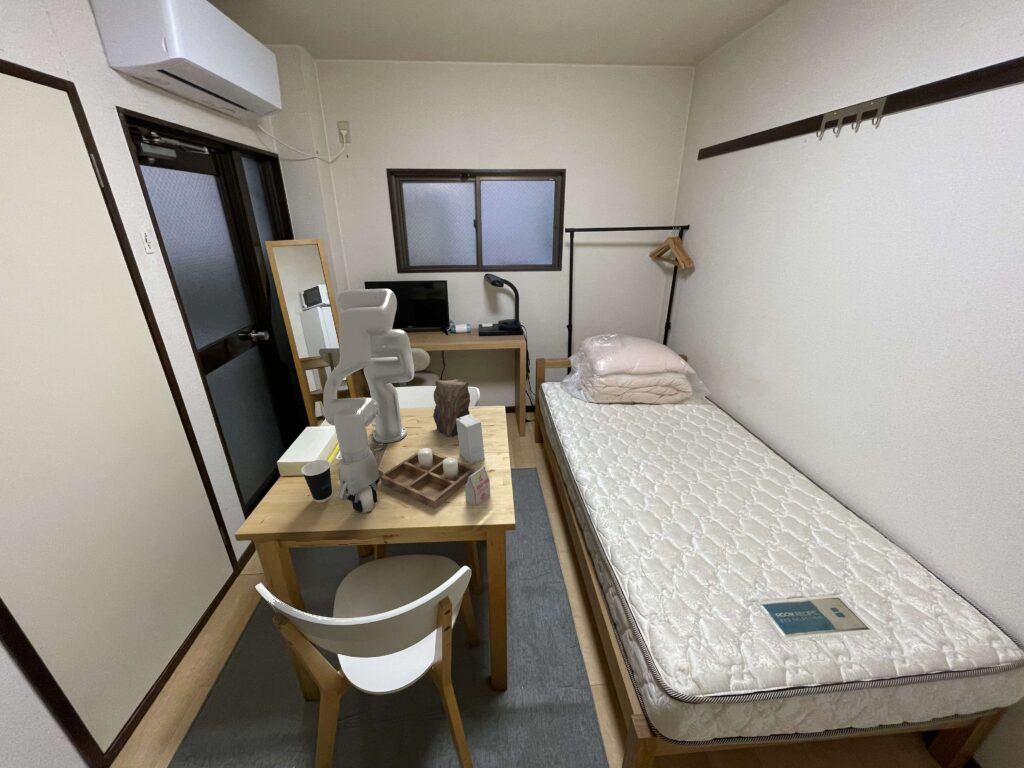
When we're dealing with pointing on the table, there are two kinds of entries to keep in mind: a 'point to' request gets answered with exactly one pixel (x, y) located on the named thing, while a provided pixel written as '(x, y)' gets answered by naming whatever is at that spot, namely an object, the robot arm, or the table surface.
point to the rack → (425, 480)
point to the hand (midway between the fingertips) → (365, 505)
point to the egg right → (450, 468)
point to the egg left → (425, 458)
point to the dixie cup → (318, 479)
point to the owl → (450, 405)
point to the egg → (366, 499)
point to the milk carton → (477, 487)
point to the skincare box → (470, 438)
